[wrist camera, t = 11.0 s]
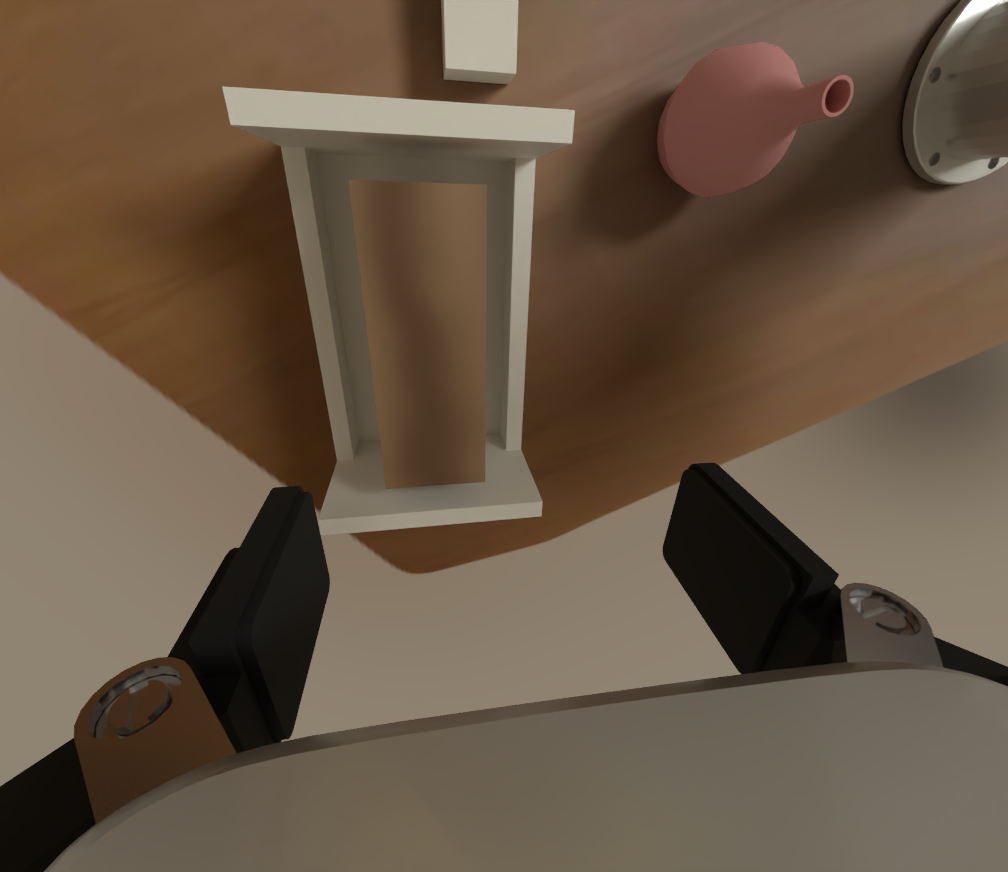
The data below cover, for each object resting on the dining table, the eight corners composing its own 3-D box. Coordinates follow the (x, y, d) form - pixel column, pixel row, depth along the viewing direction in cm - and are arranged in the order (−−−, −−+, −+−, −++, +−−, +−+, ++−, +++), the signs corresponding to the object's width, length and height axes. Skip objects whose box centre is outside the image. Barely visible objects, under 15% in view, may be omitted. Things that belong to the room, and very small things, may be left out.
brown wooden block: (475, 188, 24) (487, 184, 19) (476, 443, 31) (485, 481, 27) (362, 184, 23) (348, 179, 19) (390, 448, 30) (385, 489, 26)
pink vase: (747, 174, 32) (907, 159, 21) (650, 214, 32) (762, 219, 22) (739, 43, 28) (930, -55, 18) (630, 89, 28) (753, 20, 18)
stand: (521, 143, 28) (574, 110, 19) (511, 438, 39) (541, 516, 29) (295, 130, 26) (222, 86, 16) (347, 447, 36) (321, 535, 27)
